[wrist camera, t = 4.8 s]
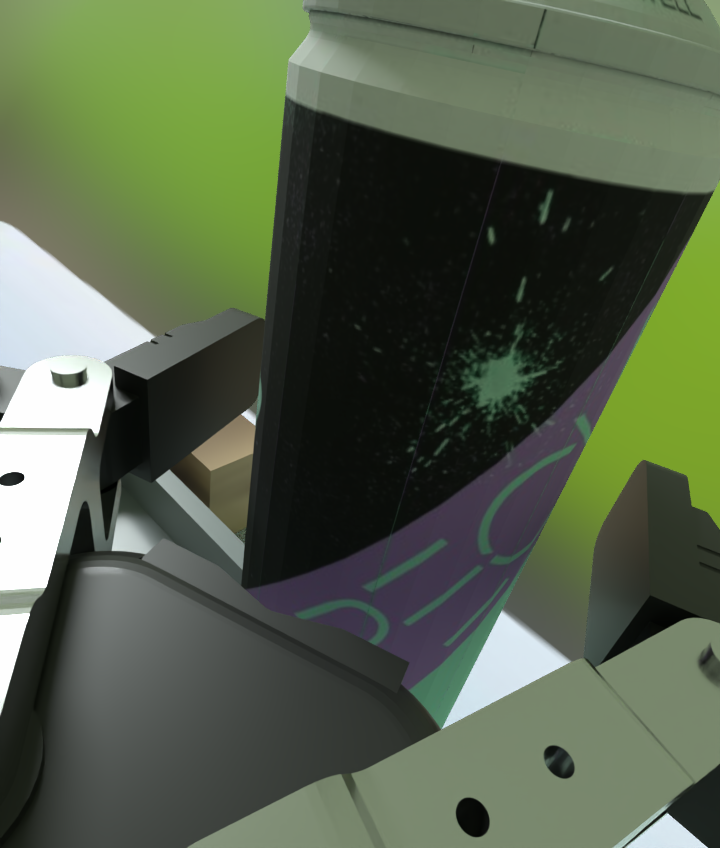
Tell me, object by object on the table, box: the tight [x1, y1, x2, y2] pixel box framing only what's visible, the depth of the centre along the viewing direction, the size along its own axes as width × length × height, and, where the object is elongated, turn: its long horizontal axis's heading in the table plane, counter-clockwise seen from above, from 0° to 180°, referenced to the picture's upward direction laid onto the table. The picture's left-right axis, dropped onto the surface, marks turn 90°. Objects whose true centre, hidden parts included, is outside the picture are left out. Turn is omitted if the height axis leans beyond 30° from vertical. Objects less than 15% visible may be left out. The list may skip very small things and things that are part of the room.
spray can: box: [241, 0, 720, 729], centre depth 11 cm, size 6×6×20 cm
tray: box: [112, 470, 245, 585], centre depth 17 cm, size 10×10×3 cm
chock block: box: [169, 414, 255, 534], centre depth 23 cm, size 5×3×4 cm, turn 46°
